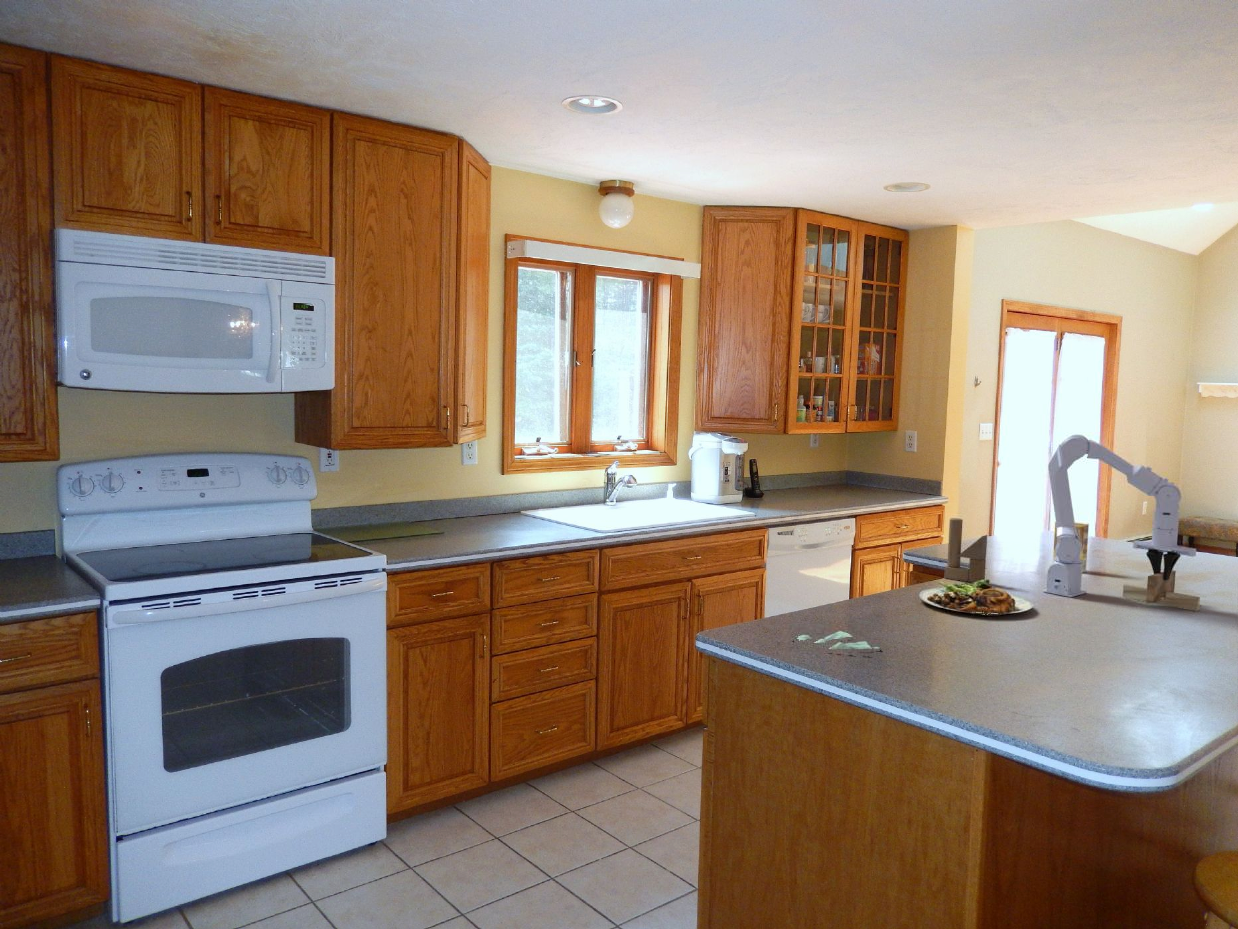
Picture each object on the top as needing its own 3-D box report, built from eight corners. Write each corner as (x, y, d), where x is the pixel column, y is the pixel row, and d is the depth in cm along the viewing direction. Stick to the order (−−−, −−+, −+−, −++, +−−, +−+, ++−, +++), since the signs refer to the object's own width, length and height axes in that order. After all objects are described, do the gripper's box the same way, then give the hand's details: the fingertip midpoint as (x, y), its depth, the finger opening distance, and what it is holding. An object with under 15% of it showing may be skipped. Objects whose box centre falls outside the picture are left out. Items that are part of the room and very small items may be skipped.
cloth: (776, 640, 199) (776, 629, 199) (858, 632, 207) (858, 622, 207) (828, 667, 180) (828, 656, 180) (916, 657, 188) (916, 646, 188)
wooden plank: (1152, 603, 232) (1154, 577, 232) (1146, 602, 234) (1147, 576, 233) (1173, 596, 241) (1175, 570, 240) (1167, 595, 242) (1169, 569, 242)
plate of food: (958, 589, 251) (958, 568, 251) (1054, 609, 229) (1055, 586, 228) (896, 605, 235) (897, 583, 234) (994, 629, 212) (995, 604, 212)
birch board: (1196, 611, 230) (1197, 598, 230) (1122, 597, 244) (1123, 584, 244) (1198, 610, 231) (1199, 597, 231) (1125, 596, 245) (1126, 584, 245)
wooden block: (980, 584, 257) (983, 523, 255) (943, 578, 264) (947, 518, 263) (985, 582, 260) (988, 521, 258) (949, 576, 267) (952, 517, 265)
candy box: (1086, 571, 278) (1089, 523, 276) (1081, 573, 275) (1084, 524, 273) (1056, 567, 284) (1059, 520, 283) (1051, 569, 281) (1054, 521, 280)
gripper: (1201, 531, 232) (1198, 582, 234) (1142, 523, 244) (1138, 572, 245) (1191, 533, 228) (1187, 585, 229) (1131, 525, 239) (1127, 575, 240)
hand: (1161, 578), depth 237 cm, fingers closed on wooden plank, 2 cm apart
